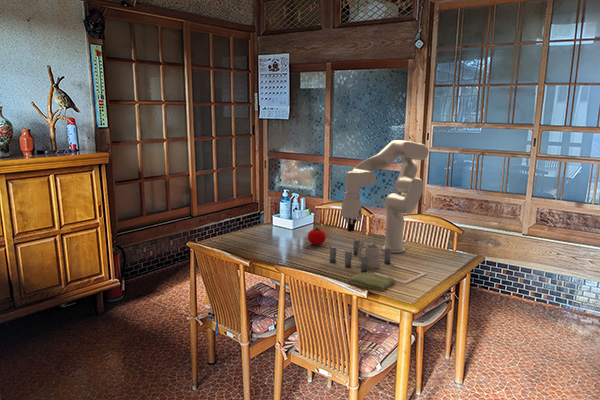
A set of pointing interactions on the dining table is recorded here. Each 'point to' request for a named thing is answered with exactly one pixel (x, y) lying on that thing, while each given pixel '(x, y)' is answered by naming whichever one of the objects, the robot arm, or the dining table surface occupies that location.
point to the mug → (370, 254)
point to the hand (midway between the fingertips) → (350, 231)
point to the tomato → (316, 236)
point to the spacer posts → (363, 257)
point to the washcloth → (372, 281)
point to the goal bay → (408, 270)
